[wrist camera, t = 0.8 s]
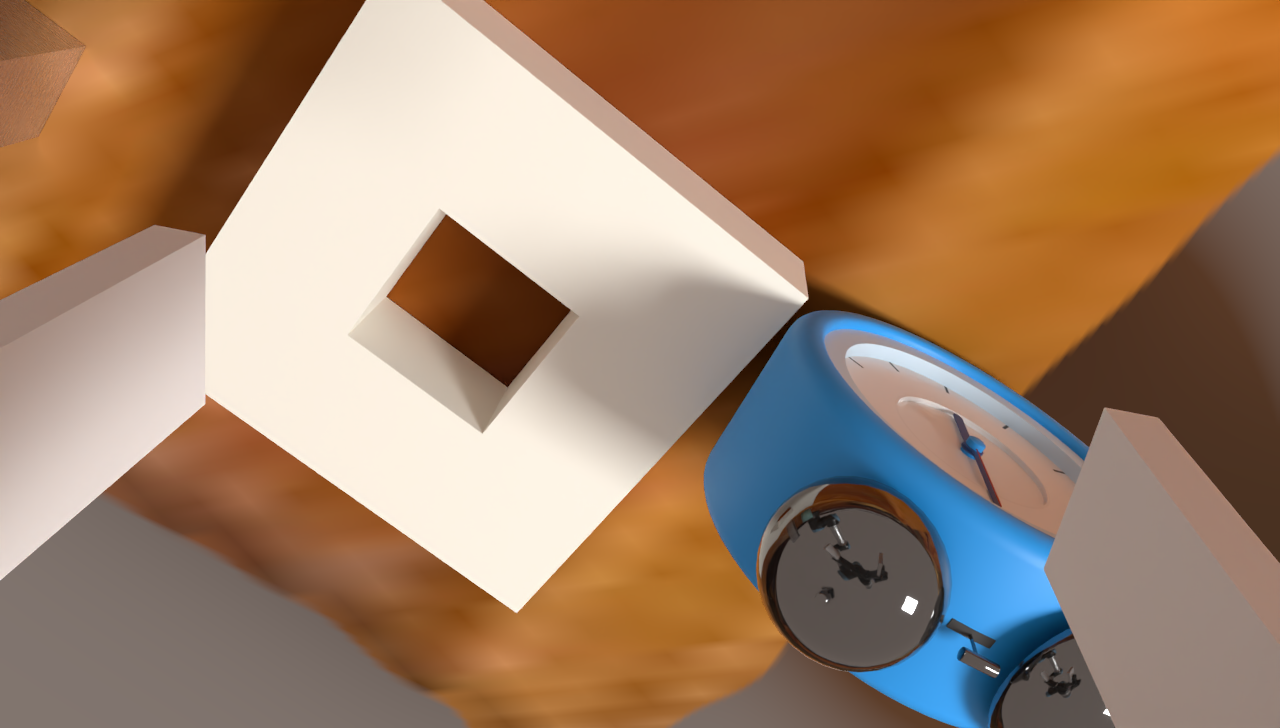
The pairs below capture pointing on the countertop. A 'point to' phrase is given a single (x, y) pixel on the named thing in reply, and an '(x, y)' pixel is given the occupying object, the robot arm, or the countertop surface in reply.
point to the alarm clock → (906, 523)
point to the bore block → (524, 236)
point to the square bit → (31, 69)
